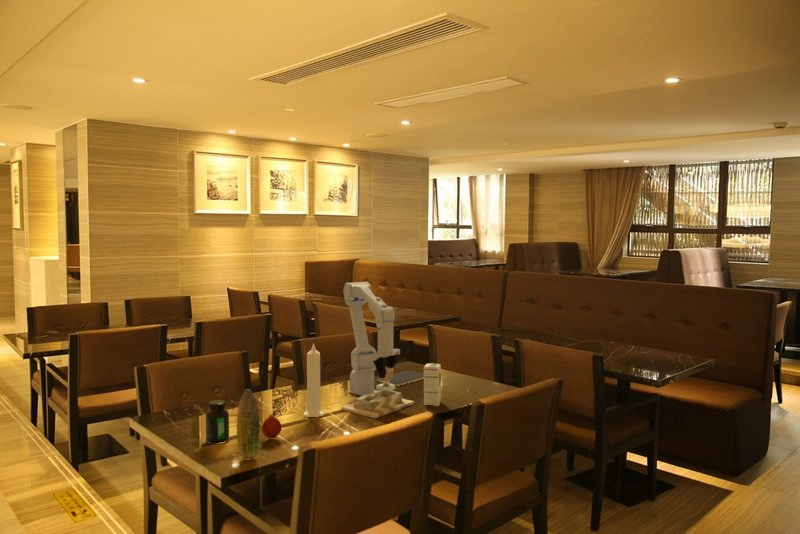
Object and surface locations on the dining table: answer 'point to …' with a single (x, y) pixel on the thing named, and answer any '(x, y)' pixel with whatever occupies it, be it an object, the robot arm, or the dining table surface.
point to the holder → (378, 404)
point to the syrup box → (432, 384)
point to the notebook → (404, 378)
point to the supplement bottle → (217, 422)
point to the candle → (313, 384)
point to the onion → (271, 427)
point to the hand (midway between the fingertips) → (385, 376)
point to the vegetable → (248, 425)
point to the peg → (386, 380)
